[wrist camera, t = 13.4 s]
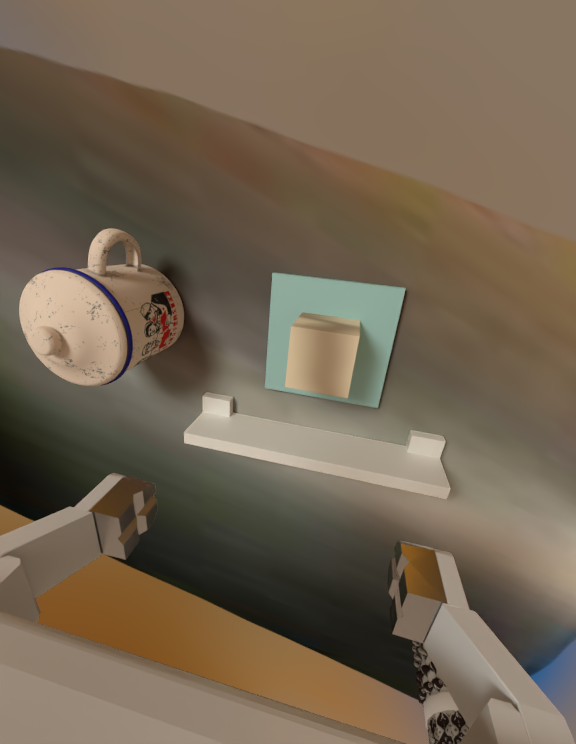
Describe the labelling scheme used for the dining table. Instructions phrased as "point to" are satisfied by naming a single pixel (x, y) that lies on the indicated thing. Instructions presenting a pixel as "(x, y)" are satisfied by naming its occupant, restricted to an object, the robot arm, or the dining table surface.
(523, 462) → the dining table surface
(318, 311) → the pad
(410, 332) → the dining table surface
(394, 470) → the divider wall
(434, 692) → the decorative candle
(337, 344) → the maple block
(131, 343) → the teacup with lid
